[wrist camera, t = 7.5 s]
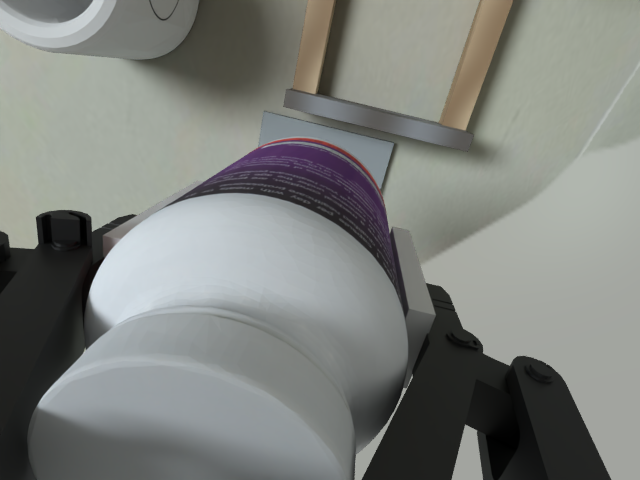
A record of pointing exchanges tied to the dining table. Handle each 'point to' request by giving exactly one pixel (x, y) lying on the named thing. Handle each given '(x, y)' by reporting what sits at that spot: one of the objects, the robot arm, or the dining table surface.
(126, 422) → the pill bottle
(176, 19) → the mug
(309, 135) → the mat
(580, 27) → the dining table surface
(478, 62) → the wooden bottle holder
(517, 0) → the dining table surface
